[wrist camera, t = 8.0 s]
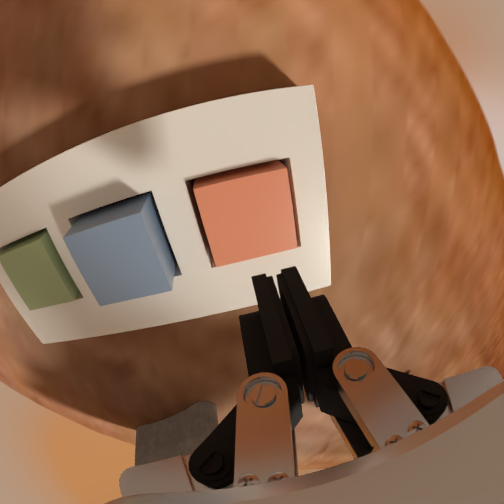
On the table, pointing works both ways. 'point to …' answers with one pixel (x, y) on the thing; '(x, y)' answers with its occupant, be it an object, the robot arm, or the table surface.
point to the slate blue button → (122, 251)
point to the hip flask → (175, 433)
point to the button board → (175, 206)
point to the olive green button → (38, 271)
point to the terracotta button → (247, 212)
